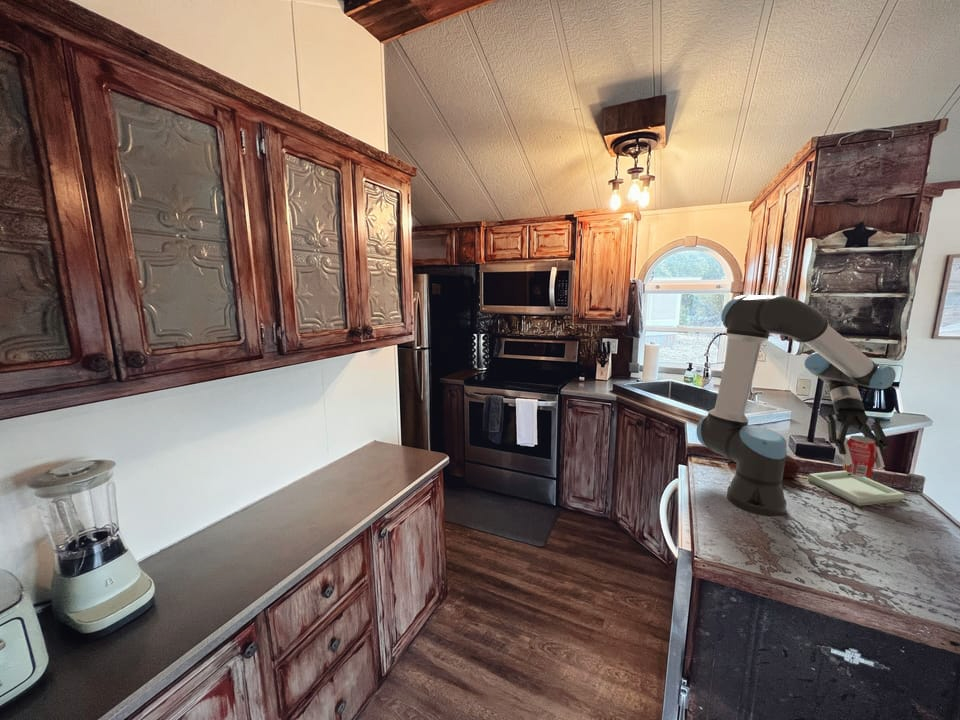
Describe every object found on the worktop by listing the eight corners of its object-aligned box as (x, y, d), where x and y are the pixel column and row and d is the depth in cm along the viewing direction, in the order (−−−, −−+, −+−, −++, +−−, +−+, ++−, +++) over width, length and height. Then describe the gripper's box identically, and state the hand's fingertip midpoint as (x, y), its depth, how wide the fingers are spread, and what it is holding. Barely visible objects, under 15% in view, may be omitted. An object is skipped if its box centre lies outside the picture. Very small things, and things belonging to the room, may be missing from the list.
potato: (806, 482, 131) (809, 459, 130) (777, 484, 130) (780, 462, 128) (777, 467, 142) (779, 446, 141) (750, 469, 141) (752, 448, 139)
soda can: (859, 468, 127) (864, 434, 125) (878, 478, 121) (885, 443, 118) (836, 468, 128) (841, 434, 126) (854, 478, 121) (860, 443, 119)
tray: (858, 505, 116) (860, 498, 116) (807, 480, 132) (808, 473, 132) (902, 501, 118) (904, 493, 118) (847, 476, 134) (848, 470, 134)
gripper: (879, 410, 131) (900, 474, 119) (807, 404, 139) (820, 465, 127) (891, 399, 125) (914, 466, 114) (815, 394, 133) (829, 457, 121)
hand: (864, 465), depth 120 cm, fingers closed on soda can, 7 cm apart
